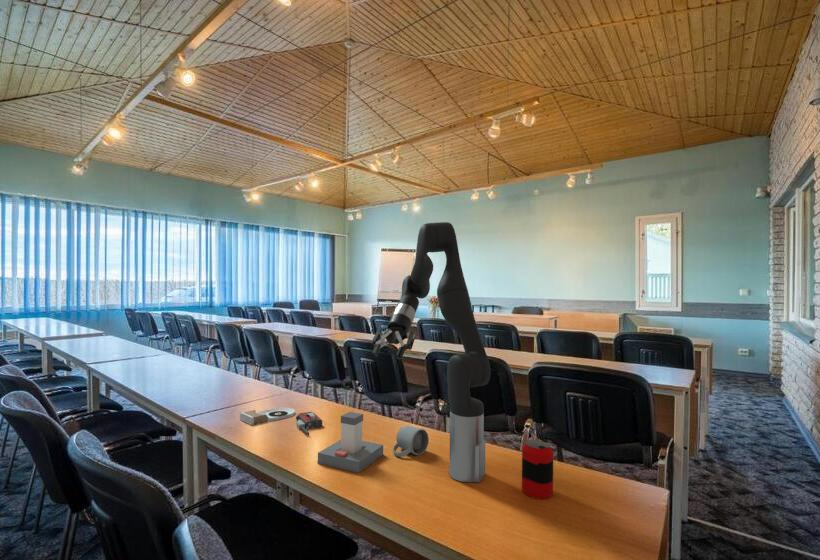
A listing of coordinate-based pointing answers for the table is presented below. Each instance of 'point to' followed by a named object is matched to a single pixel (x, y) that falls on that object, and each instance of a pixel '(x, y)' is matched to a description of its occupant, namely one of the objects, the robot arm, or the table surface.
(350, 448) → the plug
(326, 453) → the socket
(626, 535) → the table surface
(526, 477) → the soda can
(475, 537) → the table surface
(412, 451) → the ceramic mug
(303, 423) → the walkie-talkie
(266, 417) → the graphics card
